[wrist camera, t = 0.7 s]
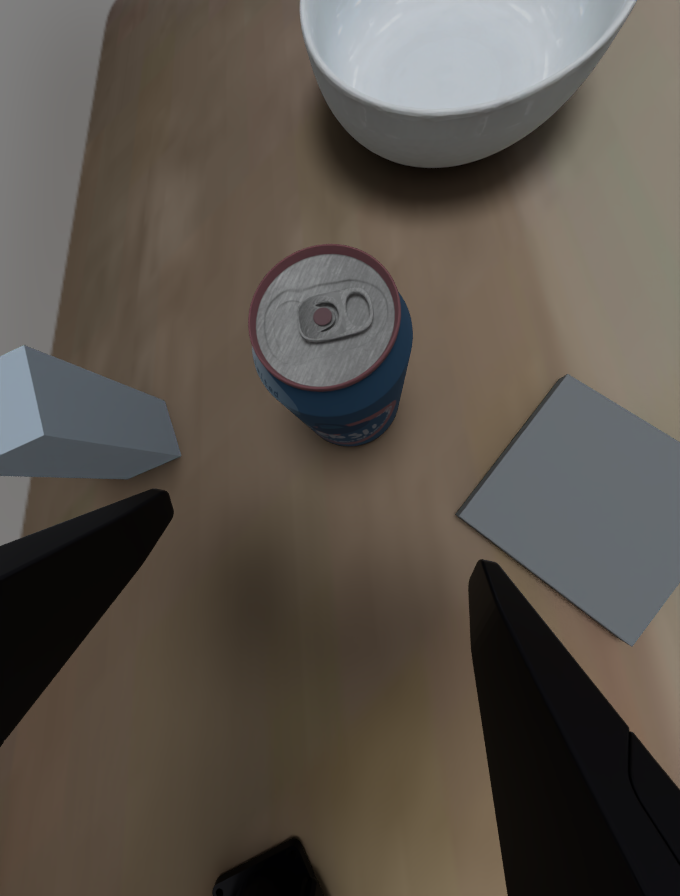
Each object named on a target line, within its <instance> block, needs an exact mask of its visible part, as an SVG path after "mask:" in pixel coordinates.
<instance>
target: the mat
mask: <svg viewBox="0 0 680 896" xmlns="http://www.w3.org/2000/svg"><path fill="white" fill-rule="evenodd" d="M455 515H457V516H458V517H459V518H461V519H462V520H463V521H465V522H466V523H467V524H468V525H470V526H471V527H472V528H474V529H475V530H476V531H478V532H479V533H480V534H482V535H483V536H484V537H486V538H487V539H488V540H490V541H491V542H492V543H494V544H495V545H496V546H497V547H499V548H500V549H501V550H503V551H504V552H505V553H507V554H508V555H509V556H511V557H512V558H513V559H515V560H516V561H517V562H519V563H520V564H521V565H523V566H524V567H525V568H527V569H528V570H529V571H530V572H532V573H533V574H534V575H536V576H537V577H538V578H540V579H541V580H542V581H544V582H545V583H546V584H548V585H549V586H550V587H552V588H553V589H554V590H556V591H557V592H558V593H559V594H561V595H562V596H563V597H565V598H566V599H567V600H569V601H570V602H571V603H573V604H574V605H575V606H577V607H578V608H579V609H581V610H582V611H583V612H585V613H586V614H587V615H588V616H590V617H591V618H592V619H594V620H595V621H596V622H598V623H599V624H600V625H602V626H603V627H604V628H606V629H607V630H608V631H610V632H611V633H612V634H614V635H615V636H616V637H618V638H619V639H620V640H622V641H624V642H625V643H627V644H628V645H630V646H631V647H632V646H633V645H634V644H635V642H636V641H637V639H638V638H639V637H640V635H641V634H642V633H643V631H644V630H645V629H646V627H647V626H648V625H649V623H650V622H651V621H652V619H653V618H654V617H655V615H656V614H657V613H658V611H659V610H660V608H661V607H662V606H663V604H664V603H665V602H666V600H667V599H668V598H669V596H670V595H671V594H672V592H673V591H674V590H675V588H676V587H677V586H678V584H679V583H680V442H679V441H677V440H675V439H674V438H672V437H670V436H669V435H667V434H665V433H664V432H662V431H661V430H659V429H657V428H656V427H654V426H652V425H651V424H649V423H647V422H646V421H644V420H642V419H641V418H639V417H638V416H636V415H634V414H633V413H631V412H629V411H628V410H626V409H624V408H623V407H621V406H620V405H618V404H616V403H615V402H613V401H611V400H610V399H608V398H606V397H605V396H603V395H601V394H600V393H598V392H597V391H595V390H593V389H592V388H590V387H588V386H587V385H585V384H583V383H582V382H580V381H578V380H577V379H575V378H574V377H572V376H570V375H569V374H567V375H565V376H563V377H562V378H560V379H559V380H558V381H557V382H556V384H555V385H554V386H553V388H552V389H551V390H550V391H549V393H548V394H547V395H546V397H545V398H544V399H543V401H542V402H541V403H540V405H539V406H538V407H537V408H536V410H535V411H534V412H533V414H532V415H531V416H530V418H529V419H528V420H527V422H526V423H525V424H524V425H523V427H522V428H521V429H520V431H519V432H518V433H517V435H516V436H515V437H514V438H513V440H512V441H511V442H510V444H509V445H508V446H507V448H506V449H505V450H504V452H503V453H502V454H501V455H500V457H499V458H498V459H497V461H496V462H495V463H494V465H493V466H492V467H491V469H490V470H489V471H488V472H487V474H486V475H485V476H484V478H483V479H482V480H481V482H480V483H479V484H478V486H477V487H476V488H475V489H474V491H473V492H472V493H471V495H470V496H469V497H468V499H467V500H466V501H465V502H464V504H463V505H462V506H461V508H460V509H459V510H458V512H457V513H456V514H455Z"/></svg>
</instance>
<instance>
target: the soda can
mask: <svg viewBox="0 0 680 896" xmlns="http://www.w3.org/2000/svg"><path fill="white" fill-rule="evenodd" d="M248 328H249V336H250V340H251V344H252V352H253V359H254V363H255V367H256V370H257V373H258V375H259V377H260V379H261V381H262V382H263V384H264V385H265V387H266V388H267V390H268V391H269V392H270V393H271V394H272V395H273V396H274V397H275V398H276V399H277V400H278V401H279V402H281V403H282V404H283V405H284V406H285V407H286V408H288V409H289V410H290V411H291V412H292V413H293V414H295V415H296V416H297V417H298V418H299V419H300V420H302V421H303V422H304V423H305V424H306V425H307V426H308V427H310V428H311V429H312V430H313V431H314V432H315V433H317V434H318V435H319V436H320V437H322V438H323V439H325V440H326V441H328V442H331V443H333V444H336V445H341V446H357V445H362V444H365V443H368V442H370V441H372V440H374V439H376V438H377V437H379V436H380V435H381V434H383V433H384V432H385V431H386V430H387V429H388V427H389V426H390V425H391V423H392V422H393V420H394V418H395V415H396V413H397V410H398V405H399V401H400V397H401V392H402V388H403V384H404V379H405V375H406V370H407V366H408V362H409V357H410V353H411V348H412V340H413V330H412V322H411V317H410V314H409V311H408V308H407V306H406V303H405V301H404V300H403V298H402V296H401V295H400V293H399V292H398V290H397V287H396V285H395V282H394V280H393V279H392V277H391V275H390V274H389V272H388V271H387V270H386V269H385V267H384V266H383V265H382V264H381V263H380V262H379V261H377V260H376V259H375V258H374V257H372V256H371V255H369V254H367V253H366V252H364V251H362V250H359V249H357V248H354V247H350V246H346V245H339V244H323V245H316V246H311V247H308V248H304V249H302V250H299V251H297V252H295V253H293V254H291V255H289V256H287V257H286V258H284V259H283V260H281V261H280V262H279V263H278V264H276V265H275V266H274V267H273V268H272V269H271V270H270V271H269V272H268V273H267V274H266V276H265V277H264V278H263V280H262V281H261V283H260V284H259V286H258V288H257V290H256V292H255V294H254V296H253V299H252V302H251V306H250V310H249V318H248Z"/></svg>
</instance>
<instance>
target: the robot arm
mask: <svg viewBox="0 0 680 896" xmlns="http://www.w3.org/2000/svg"><path fill="white" fill-rule="evenodd" d="M173 514H174V510H173V506H172V503H171V499H170V496H169V493H168V492H167V491H164V490H160V489H150V490H147V491H145V492H142V493H140V494H137V495H134V496H132V497H129V498H126V499H124V500H121V501H118V502H116V503H113V504H110V505H108V506H105V507H102V508H100V509H97V510H94V511H92V512H89V513H87V514H84V515H81V516H79V517H76V518H73V519H71V520H68V521H65V522H63V523H60V524H57V525H55V526H52V527H49V528H47V529H44V530H41V531H39V532H36V533H33V534H31V535H28V536H26V537H23V538H20V539H18V540H15V541H12V542H10V543H7V544H4V545H2V546H0V747H1V745H2V744H3V743H4V740H6V739H7V737H8V736H9V735H10V733H11V732H12V731H13V730H14V728H15V727H16V726H17V724H18V723H19V722H20V721H21V719H22V718H23V717H24V716H25V714H26V713H27V712H28V710H29V709H30V708H31V707H32V705H33V704H34V703H35V701H36V700H37V699H38V698H39V696H40V695H41V694H42V692H43V691H44V690H45V689H46V687H47V686H48V685H49V684H50V682H51V681H52V680H53V678H54V677H55V676H56V675H57V673H58V672H59V671H60V669H61V668H62V667H63V666H64V664H65V663H66V662H67V660H68V659H69V658H70V657H71V655H72V654H73V653H74V652H75V650H76V649H77V648H78V646H79V645H80V644H81V643H82V641H83V640H84V639H85V637H86V636H87V635H88V634H89V632H90V631H91V630H92V628H93V627H94V626H95V625H96V623H97V622H98V621H99V620H100V618H101V617H102V616H103V614H104V613H105V612H106V611H107V609H108V608H109V607H110V605H111V604H112V603H113V602H114V600H115V599H116V598H117V596H118V595H119V594H120V593H121V591H122V590H123V589H124V588H125V586H126V585H127V584H128V582H129V581H130V580H131V579H132V577H133V576H134V575H135V573H136V572H137V571H138V570H139V568H140V567H141V566H142V564H143V563H144V561H145V560H146V558H147V557H148V555H149V554H150V552H151V551H152V549H153V548H154V546H155V545H156V543H157V541H158V540H159V538H160V537H161V535H162V534H163V532H164V531H165V529H166V527H167V526H168V524H169V523H170V521H171V520H172V518H173ZM468 591H469V615H470V639H471V652H472V660H473V667H474V674H475V680H476V687H477V694H478V700H479V707H480V714H481V720H482V727H483V734H484V741H485V747H486V754H487V761H488V767H489V774H490V781H491V787H492V794H493V801H494V807H495V814H496V821H497V827H498V834H499V841H500V847H501V854H502V861H503V867H504V874H505V881H506V887H507V894H508V896H680V789H679V788H678V787H677V786H676V784H675V783H674V782H673V781H672V780H671V778H670V777H669V776H668V775H667V773H666V772H665V771H664V770H663V769H662V767H661V766H660V765H659V764H658V763H657V761H656V760H655V759H654V758H653V756H652V755H651V754H650V753H649V751H648V750H647V749H646V748H645V746H644V745H643V744H642V743H641V741H640V740H639V739H638V738H637V736H636V735H635V734H634V733H633V732H629V727H628V725H627V724H626V723H625V722H624V720H623V719H622V718H621V717H620V715H619V714H618V713H617V712H616V710H615V709H614V708H613V707H612V705H611V704H610V703H609V702H608V700H607V699H606V698H605V697H604V695H603V694H602V693H601V692H600V690H599V689H598V688H597V687H596V685H595V684H594V683H593V682H592V680H591V679H590V678H589V677H588V675H587V674H586V673H585V672H584V670H583V669H582V668H581V667H580V666H579V664H578V663H577V662H576V661H575V659H574V658H573V657H572V656H571V654H570V653H569V652H568V651H567V649H566V648H565V647H564V646H563V644H562V643H561V642H560V641H559V639H558V638H557V637H556V636H555V634H554V633H553V632H552V631H551V629H550V628H549V627H548V626H547V624H546V623H545V622H544V621H543V619H542V618H541V617H540V616H539V614H538V613H537V612H536V611H535V609H534V608H533V607H532V606H531V604H530V603H529V602H528V601H527V599H526V598H525V597H524V596H523V594H522V593H521V592H520V591H519V589H518V588H517V587H516V586H515V584H514V583H513V582H512V581H511V579H510V578H509V577H508V576H507V574H506V573H505V572H504V571H503V569H502V568H501V567H500V566H499V565H498V564H497V563H496V562H492V561H488V560H483V559H480V560H479V561H478V562H477V564H476V566H475V568H474V570H473V573H472V575H471V577H470V579H469V585H468ZM293 851H295V852H293ZM212 894H213V896H324V894H323V892H322V890H321V888H320V885H319V883H318V881H317V880H316V877H315V875H314V873H313V870H312V868H311V866H310V863H309V861H308V859H307V856H306V854H305V852H304V849H303V847H302V845H301V843H300V841H298V840H297V839H291V840H289V841H287V842H285V843H283V844H281V845H279V846H278V847H276V848H274V849H272V850H270V851H268V852H266V853H264V854H262V855H260V856H258V857H256V858H254V859H252V860H250V861H249V862H247V863H245V864H243V865H241V866H239V867H237V868H235V869H233V870H231V871H229V872H227V873H225V874H223V875H221V876H220V877H218V878H217V880H216V883H215V885H214V887H213V892H212Z"/></svg>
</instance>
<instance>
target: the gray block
mask: <svg viewBox="0 0 680 896" xmlns="http://www.w3.org/2000/svg"><path fill="white" fill-rule="evenodd" d="M178 457H181V453H180V450H179V446H178V443H177V440H176V436H175V433H174V430H173V426H172V423H171V420H170V417H169V413H168V410H167V407H166V403H165V401H164V400H161V399H159V398H156V397H154V396H151V395H149V394H146V393H144V392H141V391H139V390H136V389H134V388H131V387H129V386H126V385H124V384H121V383H119V382H116V381H114V380H111V379H108V378H106V377H103V376H101V375H98V374H96V373H93V372H91V371H88V370H86V369H83V368H81V367H78V366H76V365H73V364H71V363H68V362H66V361H63V360H61V359H58V358H56V357H53V356H51V355H48V354H46V353H43V352H41V351H38V350H35V349H33V348H31V347H28V346H26V345H23V346H21V347H19V348H17V349H15V350H12V351H11V352H8V353H6V354H4V355H2V356H0V476H25V477H61V478H98V479H129V478H132V477H134V476H136V475H139V474H141V473H143V472H146V471H148V470H150V469H153V468H155V467H157V466H160V465H162V464H164V463H167V462H169V461H171V460H174V459H176V458H178Z"/></svg>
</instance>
